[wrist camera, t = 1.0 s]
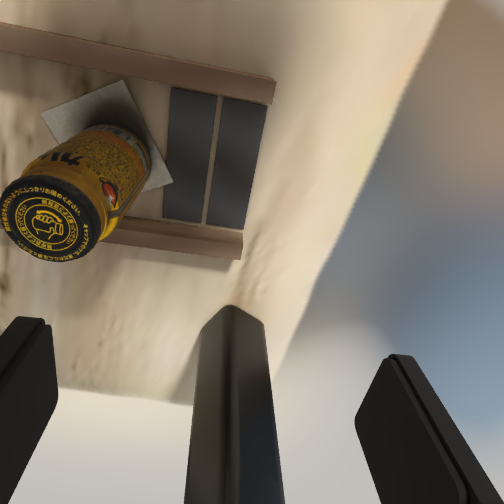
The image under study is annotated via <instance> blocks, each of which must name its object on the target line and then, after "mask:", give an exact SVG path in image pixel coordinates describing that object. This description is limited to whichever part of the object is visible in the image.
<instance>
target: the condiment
mask: <svg viewBox="0 0 504 504" xmlns="http://www.w3.org/2000/svg"><path fill="white" fill-rule="evenodd" d="M40 114H41V116H42V118H43V119H44V121H45V123H46V124H47V126H48V127H49V129H50V130H51V132H52V133H53V135H54V137H55V139H56V140H57V142H58V143H59V144H60V145H59V146H57V147H55V148H54V149H52V150H49V151H48V152H46V153H45V154H43V155H41V156H39V157H38V158H37V159H36V160H34V161H33V162H31V163H30V164H29V165H28V166H27V167H26V168H25V170H24V171H23V173H22V175H21V177H20V178H19V179H17V180H15V181H13V182H12V183H11V184H10V185H9V186H8V187H7V188H6V189H5V191H4V192H3V193H2V196H1V199H0V219H1V224H2V226H3V228H4V229H5V231H6V232H7V234H8V236H9V237H10V238H11V239H12V240H13V241H14V242H15V243H16V244H17V245H18V246H19V247H20V248H21V249H23V250H25V251H27V252H28V253H30V254H31V255H33V256H34V257H37V258H39V259H43V260H47V261H53V262H66V261H69V260H74V259H78V258H81V257H83V256H85V255H86V254H87V253H88V252H90V250H92V249H93V248H94V246H95V245H96V243H97V242H98V241H100V240H102V239H104V238H105V237H107V236H108V235H110V234H111V232H112V231H113V230H114V229H115V227H117V225H118V224H119V222H120V221H121V220H122V218H123V217H124V214H125V213H126V211H127V210H128V209H129V207H130V206H131V204H133V202H134V200H135V199H136V197H137V195H139V194H140V193H143V192H146V191H149V190H152V189H155V188H158V187H161V186H164V185H167V184H170V183H172V182H173V180H172V178H171V176H170V174H169V172H168V170H167V167H166V165H165V163H164V161H163V159H162V157H161V155H160V153H159V151H158V149H157V147H156V145H155V143H154V141H153V139H152V137H151V135H150V133H149V131H148V129H147V127H146V125H145V123H144V121H143V119H142V117H141V115H140V113H139V110H138V108H137V106H136V104H135V102H134V100H133V99H132V97H131V95H130V93H129V91H128V89H127V86H126V84H125V82H124V80H120V81H118V82H115V83H113V84H110V85H108V86H106V87H103V88H101V89H98V90H96V91H93V92H91V93H89V94H86V95H84V96H81V97H79V98H76V99H74V100H71V101H69V102H67V103H64V104H62V105H59V106H57V107H55V108H52V109H50V110H47V111H45V112H42V113H40Z"/></svg>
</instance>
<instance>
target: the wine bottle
mask: <svg viewBox="0 0 504 504" xmlns="http://www.w3.org/2000/svg"><path fill="white" fill-rule="evenodd" d="M190 437H191V438H190V446H189V457H188V466H187V476H186V487H185V496H184V504H285V499H284V490H283V482H282V473H281V465H280V456H279V448H278V441H277V431H276V423H275V415H274V406H273V398H272V389H271V381H270V373H269V364H268V356H267V347H266V339H265V331H264V324H263V323H262V322H261V321H259V320H258V319H256V318H254V317H253V316H251V315H250V314H248V313H246V312H245V311H243V310H241V309H240V308H238V307H236V306H233V305H226V306H225V307H223V308H222V309H221V310H220V311H219V312H218V313H217V314H216V315H215V316H214V317H213V318H212V319H211V320H210V321H209V322H208V323H207V324H206V325H205V326H204V327H203V329H202V330H201V337H200V347H199V357H198V367H197V377H196V387H195V397H194V407H193V417H192V426H191V436H190Z"/></svg>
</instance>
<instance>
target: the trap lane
mask: <svg viewBox="0 0 504 504" xmlns="http://www.w3.org/2000/svg"><path fill="white" fill-rule="evenodd" d="M0 51H4V52H9V53H14V54H19V55H24V56H29V57H34V58H40V59H45V60H50V61H55V62H60V63H65V64H70V65H75V66H80V67H85V68H90V69H95V70H100V71H105V72H110V73H116V74H121V75H126V76H131V77H136V78H141V79H146V80H151V81H156V82H161V83H166V84H171V85H176V86H181V87H186V88H192V89H197V90H202V91H207V92H212V93H217V94H222V95H227V96H232V97H237V98H242V99H247V100H252V101H257V102H263V103H268V104H272V101H273V96H274V91H275V86H276V81H275V80H274V79H272V78H267V77H262V76H257V75H253V74H248V73H243V72H238V71H233V70H228V69H224V68H219V67H214V66H209V65H204V64H200V63H195V62H190V61H185V60H180V59H176V58H171V57H166V56H161V55H156V54H152V53H147V52H142V51H137V50H132V49H127V48H123V47H118V46H113V45H108V44H103V43H99V42H94V41H89V40H84V39H79V38H75V37H70V36H65V35H60V34H55V33H50V32H46V31H41V30H36V29H31V28H26V27H22V26H17V25H12V24H7V23H2V22H0ZM216 102H217V96H213V95H208V94H203V93H198V92H192V91H187V90H182V89H177V88H171V99H170V114H169V129H168V144H167V159H166V167H167V170H168V172H169V174H170V176H171V178H172V180H173V182H172V183H170V184H167V185H165V188H164V203H163V218H169V219H175V220H182V221H189V222H196V223H201V218H202V211H203V203H204V195H205V187H206V180H207V172H208V164H209V156H210V149H211V141H212V133H213V125H214V117H215V110H216ZM266 112H267V106H264V105H259V104H254V103H249V102H243V101H238V100H233V99H228V98H223V106H222V113H221V120H220V127H219V135H218V142H217V149H216V157H215V164H214V171H213V178H212V186H211V193H210V200H209V208H208V215H207V222H206V224H210V225H217V226H224V227H231V228H238V229H243V228H244V223H245V218H246V213H247V208H248V203H249V198H250V193H251V188H252V183H253V178H254V173H255V168H256V163H257V157H258V152H259V147H260V142H261V137H262V132H263V127H264V122H265V117H266ZM0 199H1V198H0ZM0 228H2V229H4V228H3V226H2V224H1V219H0ZM100 242H108V243H115V244H123V245H130V246H138V247H146V248H153V249H161V250H168V251H176V252H183V253H191V254H199V255H206V256H214V257H221V258H229V259H236V260H240V259H241V254H242V249H243V236H242V233H239V232H232V231H225V230H218V229H211V228H204V227H197V226H190V225H183V224H176V223H169V222H162V221H155V220H148V219H141V218H134V217H127V216H124V217H123V218H122V220H121V221H120V222H119V224H118V225H117V227H115V229H114V230H113V231H112V232H111V234H110V235H108V236H107V237H105V238H104V239H102V240H100Z"/></svg>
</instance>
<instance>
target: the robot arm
mask: <svg viewBox="0 0 504 504" xmlns="http://www.w3.org/2000/svg"><path fill="white" fill-rule="evenodd" d="M57 401H58V385H57V376H56V366H55V356H54V346H53V336H52V328H51V326H50V325H45V321H44V319H42V318H33V317H23V316H18V317H16V318H15V319H14V320H13V321H12V323H11V324H10V325H9V326H8V327H7V329H6V330H5V331H4V332H3V334H2V335H1V336H0V504H8V503H9V500H10V499H11V496H12V494H13V492H14V490H15V488H16V486H17V484H18V482H19V480H20V478H21V476H22V474H23V472H24V470H25V468H26V466H27V464H28V462H29V460H30V458H31V456H32V454H33V452H34V450H35V448H36V446H37V444H38V442H39V440H40V438H41V436H42V434H43V432H44V430H45V428H46V426H47V424H48V422H49V420H50V418H51V415H52V414H53V411H54V410H55V407H56V404H57ZM355 429H356V432H357V435H358V438H359V440H360V443H361V446H362V449H363V452H364V455H365V458H366V461H367V464H368V467H369V470H370V472H371V475H372V478H373V481H374V484H375V487H376V490H377V493H378V495H379V498H380V501H381V504H504V502H503V500H502V499H501V497H500V496H499V494H498V493H497V491H496V489H495V488H494V486H493V484H492V483H491V481H490V480H489V478H488V476H487V475H486V473H485V471H484V470H483V468H482V467H481V465H480V463H479V462H478V460H477V459H476V457H475V455H474V454H473V452H472V451H471V449H470V447H469V446H468V444H467V443H466V441H465V439H464V438H463V436H462V435H461V433H460V431H459V430H458V428H457V427H456V425H455V423H454V422H453V420H452V418H451V417H450V415H449V414H448V412H447V410H446V409H445V407H444V405H443V404H442V402H441V401H440V399H439V397H438V396H437V394H436V393H435V391H434V389H433V388H432V386H431V385H430V383H429V381H428V380H427V378H426V377H425V375H424V373H423V372H422V370H421V368H420V367H419V365H418V364H417V362H416V361H415V359H414V358H413V357H412V356H409V355H399V354H391V355H389V356H388V358H385V359H383V361H382V363H381V365H380V367H379V369H378V371H377V373H376V375H375V377H374V379H373V381H372V383H371V385H370V388H369V389H368V392H367V393H366V395H365V398H364V399H363V402H362V404H361V406H360V408H359V410H358V412H357V414H356V416H355Z"/></svg>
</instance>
